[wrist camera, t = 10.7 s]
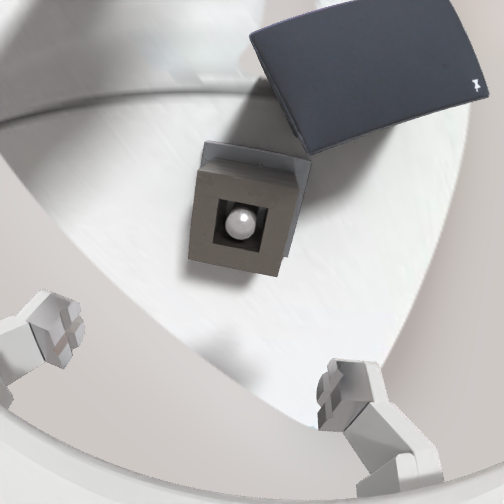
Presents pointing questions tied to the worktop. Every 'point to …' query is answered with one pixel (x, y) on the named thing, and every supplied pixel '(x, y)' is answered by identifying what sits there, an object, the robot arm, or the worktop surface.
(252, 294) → the worktop surface
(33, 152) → the worktop surface
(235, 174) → the collar
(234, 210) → the shaft stand
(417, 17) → the small box
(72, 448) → the robot arm
